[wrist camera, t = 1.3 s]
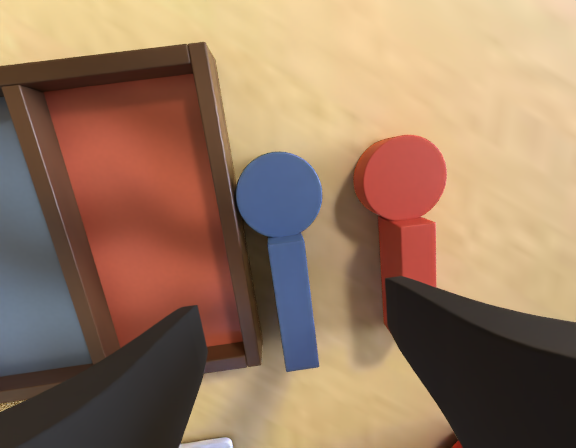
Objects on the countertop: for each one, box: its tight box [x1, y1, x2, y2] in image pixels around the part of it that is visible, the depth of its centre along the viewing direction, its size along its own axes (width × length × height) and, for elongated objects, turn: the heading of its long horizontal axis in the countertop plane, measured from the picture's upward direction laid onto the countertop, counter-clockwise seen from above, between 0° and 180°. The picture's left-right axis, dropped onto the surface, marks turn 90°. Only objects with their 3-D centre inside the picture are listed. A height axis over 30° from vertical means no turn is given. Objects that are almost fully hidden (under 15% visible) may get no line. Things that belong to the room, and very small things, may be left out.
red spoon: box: [353, 135, 447, 333], centre depth 15 cm, size 12×4×3 cm, turn 7°
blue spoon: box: [236, 152, 322, 372], centre depth 15 cm, size 12×4×3 cm, turn 7°
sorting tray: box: [0, 42, 263, 403], centre depth 15 cm, size 17×17×2 cm
